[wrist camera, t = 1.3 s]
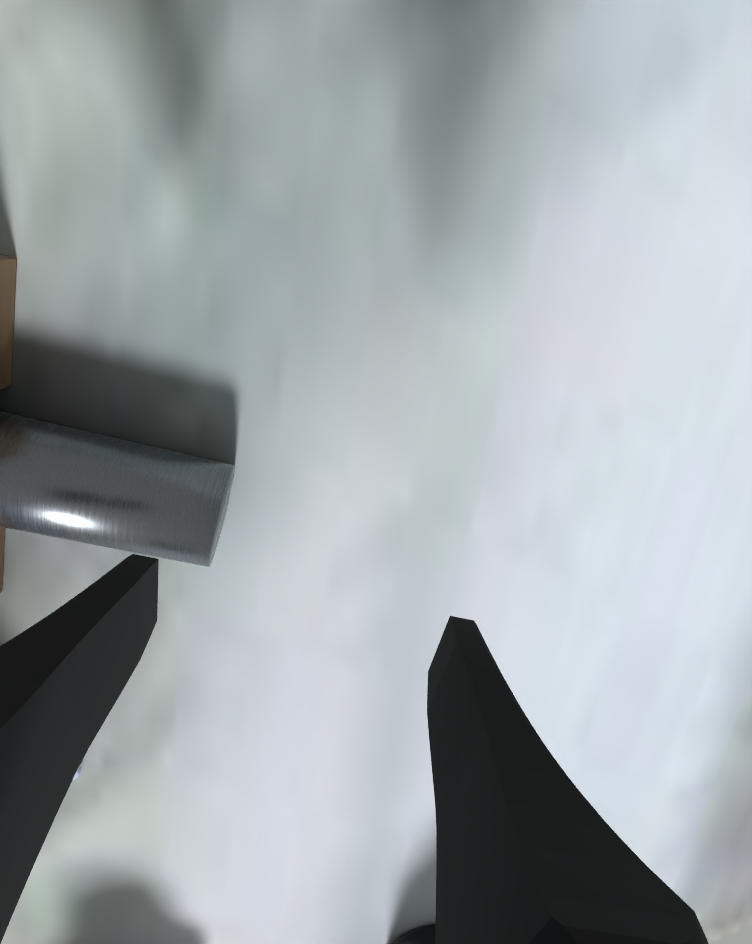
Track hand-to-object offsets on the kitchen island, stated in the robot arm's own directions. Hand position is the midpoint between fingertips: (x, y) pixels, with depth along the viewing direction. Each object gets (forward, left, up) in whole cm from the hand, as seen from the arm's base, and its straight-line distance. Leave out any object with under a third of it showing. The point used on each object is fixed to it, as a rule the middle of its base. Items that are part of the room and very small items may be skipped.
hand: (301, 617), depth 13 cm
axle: (+5, +9, -8) cm, 13 cm away
